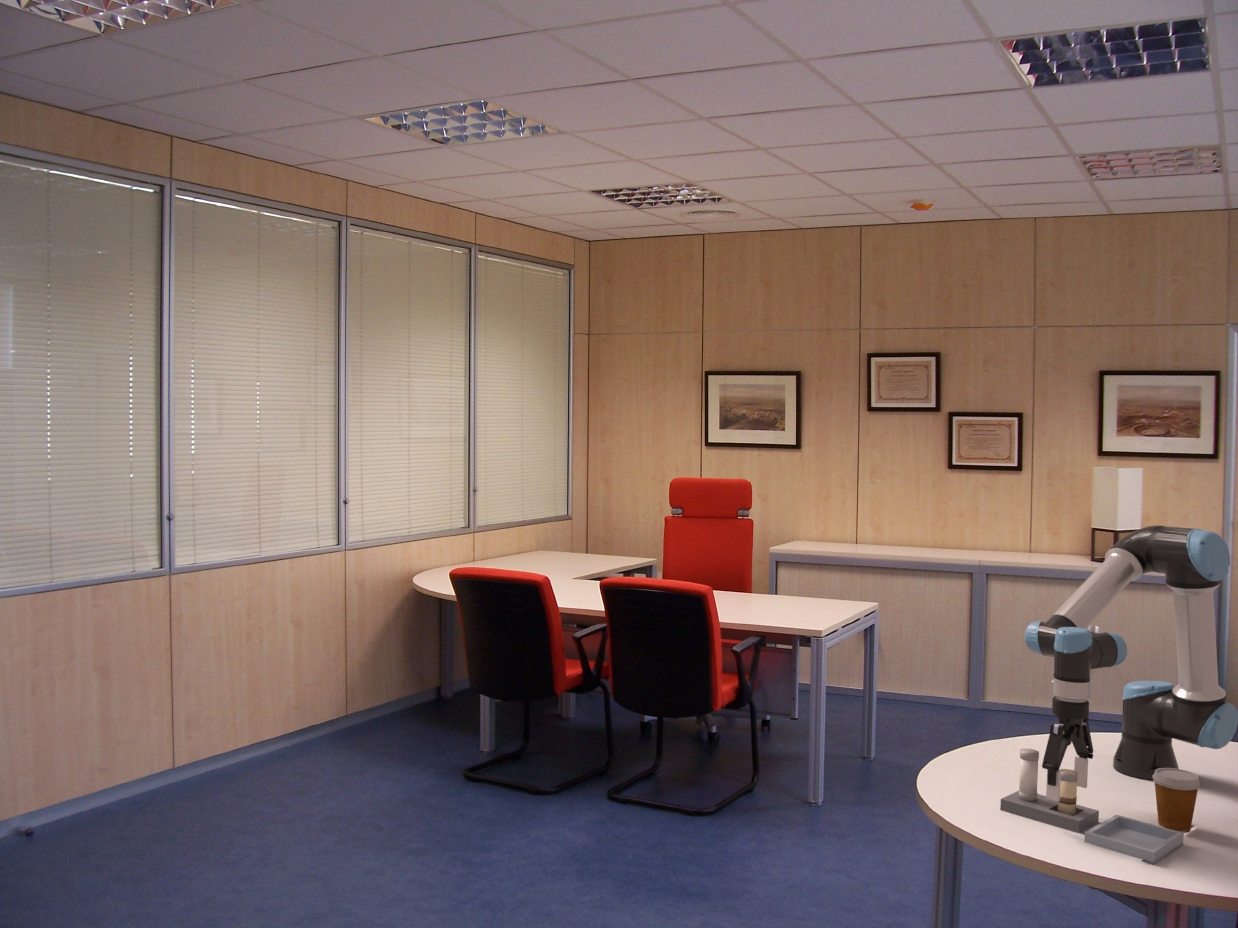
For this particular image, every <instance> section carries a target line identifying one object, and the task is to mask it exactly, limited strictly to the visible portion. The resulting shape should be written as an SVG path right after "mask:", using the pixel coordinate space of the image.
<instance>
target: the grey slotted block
mask: <svg viewBox="0 0 1238 928" xmlns="http://www.w3.org/2000/svg"><path fill="white" fill-rule="evenodd" d="M1019 757H1020V760H1019V787H1018V788H1019V789H1018V790H1017V791H1015V792H1012V793H1011V794H1009V795H1006V796H1004V797H1002V798H1000V807H999V808H1000V811H1003V812H1005V813H1008V814H1013V815H1016V816H1018V817H1019V816H1020V817H1023V818H1027V819H1031V820H1033V821H1036V822H1040V823H1043V824H1047V825H1050V826H1053V827H1056V828H1060V829H1064V830H1067V831H1071V832H1074V833H1077V834H1079V833H1081V832H1083V831H1085V830H1087V829H1088V828H1090V827H1092V826H1095V825H1096V824H1098V823H1100V822H1099V815H1100V810H1098V809H1094V808H1090V807H1087V806H1083V805H1080V804H1077V803H1076V815H1075V816H1071V815H1068V814H1064V813H1061V812H1057V808H1058V801H1055V800H1051V799H1047V798H1046V795H1043V794H1040V793H1038V781H1039V780H1038V778H1039V776H1038V775H1039V759H1040V751H1039V750H1036V749H1033V748H1020V751H1019Z"/></svg>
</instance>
